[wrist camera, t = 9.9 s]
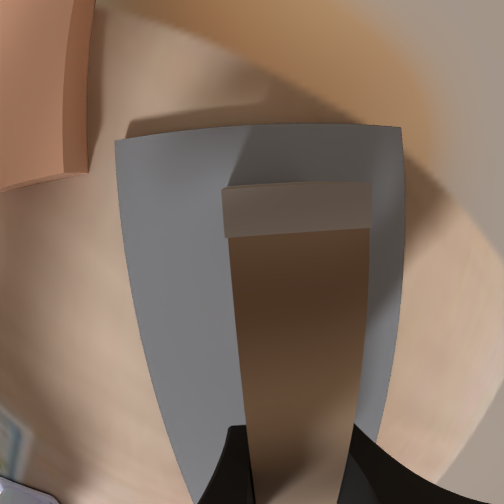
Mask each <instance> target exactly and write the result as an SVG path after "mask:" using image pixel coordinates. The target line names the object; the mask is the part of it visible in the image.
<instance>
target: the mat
mask: <svg viewBox="0 0 504 504" xmlns="http://www.w3.org/2000/svg"><path fill="white" fill-rule="evenodd" d="M115 159H116V174H117V187H118V198H119V208H120V217H121V226H122V234H123V241H124V249H125V255H126V262H127V268H128V275H129V280H130V286H131V292H132V297H133V302H134V308H135V313H136V317H137V322H138V327H139V331H140V336H141V340H142V345H143V349H144V353H145V357H146V361H147V365H148V369H149V373H150V377H151V380H152V384H153V388H154V391H155V395H156V398H157V402H158V405H159V408H160V412H161V415H162V418H163V421H164V424H165V428H166V431H167V434H168V437H169V440H170V443H171V446H172V448H173V451H174V454H175V457H176V460H177V462H178V465H179V468H180V470H181V473H182V476H183V478H184V481H185V483H186V486H187V488H188V491H189V493H190V496H191V498H192V501H193V503H194V504H197V503H198V502H199V500H200V498H201V496H202V495H203V493H204V491H205V489H206V487H207V485H208V483H209V481H210V479H211V477H212V475H213V473H214V471H215V468H216V466H217V463H218V461H219V459H220V456H221V453H222V450H223V447H224V444H225V440H226V436H227V431H228V428H229V427H230V426H233V425H246V419H245V410H244V401H243V392H242V383H241V373H240V364H239V354H238V344H237V334H236V324H235V313H234V303H233V292H232V281H231V269H230V258H229V246H228V238H225V234H224V222H223V209H222V196H221V190H222V189H223V188H225V187H227V186H239V185H253V184H269V183H288V182H359V183H371V196H372V228H370V244H369V282H368V302H367V317H366V330H365V341H364V351H363V361H362V370H361V378H360V385H359V393H358V400H357V406H356V413H355V419H354V423H355V424H356V425H357V426H358V427H359V428H360V429H361V430H362V431H363V432H364V433H365V434H366V435H367V436H368V437H369V438H370V439H371V440H372V441H373V442H375V443H376V439H377V436H378V432H379V428H380V423H381V419H382V415H383V411H384V406H385V401H386V397H387V392H388V387H389V381H390V376H391V370H392V365H393V358H394V352H395V345H396V338H397V331H398V323H399V314H400V304H401V294H402V281H403V266H404V245H405V181H404V159H403V145H402V133H401V127H392V126H378V125H360V124H331V123H288V124H258V125H240V126H226V127H214V128H203V129H193V130H184V131H176V132H168V133H160V134H153V135H147V136H140V137H134V138H128V139H122V140H117V141H115Z"/></svg>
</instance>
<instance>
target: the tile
mask: <svg viewBox="0 0 504 504" xmlns="http://www.w3.org/2000/svg"><path fill="white" fill-rule="evenodd" d="M95 3H96V0H0V193H1V192H5V191H8V190H12V189H16V188H20V187H24V186H28V185H33V184H37V183H41V182H46V181H50V180H55V179H60V178H65V177H70V176H75V175H80V174H85V173H88V158H87V125H86V106H87V75H88V59H89V46H90V36H91V27H92V19H93V12H94V6H95Z"/></svg>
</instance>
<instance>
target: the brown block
mask: <svg viewBox="0 0 504 504" xmlns="http://www.w3.org/2000/svg"><path fill="white" fill-rule="evenodd" d="M221 196H222V209H223V222H224V234H225V238H228V246H229V258H230V269H231V281H232V292H233V303H234V313H235V324H236V334H237V344H238V354H239V364H240V373H241V383H242V392H243V401H244V410H245V419H246V428H247V436H248V445H249V453H250V461H251V469H252V477H253V485H254V493H255V500H256V504H336V503H337V499H338V496H339V492H340V488H341V483H342V479H343V475H344V470H345V466H346V461H347V456H348V451H349V446H350V441H351V436H352V430H353V425H354V419H355V413H356V406H357V400H358V393H359V385H360V378H361V370H362V361H363V351H364V341H365V330H366V317H367V302H368V282H369V244H370V228H372V196H371V183H359V182H288V183H269V184H253V185H239V186H227V187H225V188H223V189H222V190H221Z"/></svg>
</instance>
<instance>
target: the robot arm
mask: <svg viewBox="0 0 504 504" xmlns="http://www.w3.org/2000/svg"><path fill="white" fill-rule="evenodd" d="M0 491H1V492H2V493H1V494H0V504H59V503H58V502H57V500H56V499H55V498H54V497H52V496H51V495H49V494H45V493H42V492H39V491H36V490H34V489H31V488H28V487H25V486H22V485H20V484H17V483H15V482H12V481H10V480H7V479H5V478H2V477H0ZM197 504H256V500H255V493H254V485H253V477H252V469H251V461H250V453H249V445H248V436H247V428H246V425H233V426H230V427H229V428H228V431H227V436H226V440H225V444H224V447H223V450H222V453H221V456H220V459H219V461H218V463H217V466H216V468H215V471H214V473H213V475H212V477H211V479H210V481H209V483H208V485H207V487H206V489H205V491H204V493H203V495H202V496H201V498H200V500H199V502H198V503H197ZM337 504H489V503H484V502H480V501H477V500H473V499H469V498H466V497H463V496H460V495H458V494H456V493H453V492H451V491H448V490H446V489H443V488H441V487H439V486H437V485H435V484H433V483H431V482H429V481H427V480H425V479H424V478H422V477H420V476H419V475H417V474H415V473H414V472H412V471H411V470H409V469H408V468H406V467H405V466H403V465H402V464H400V463H399V462H398V461H396V460H395V459H394V458H392V457H391V456H390V455H389V454H387V453H386V452H385V451H384V450H383V449H381V448H380V447H379V446H378V445H377V444H376V443H375V442H373V441H372V440H371V439H370V438H369V437H368V436H367V435H366V434H365V433H364V432H363V431H362V430H361V429H360V428H359V427H358V426H357V425H356V424H355V423H354V425H353V430H352V436H351V441H350V446H349V451H348V456H347V461H346V466H345V470H344V475H343V479H342V483H341V488H340V492H339V496H338V499H337Z"/></svg>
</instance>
